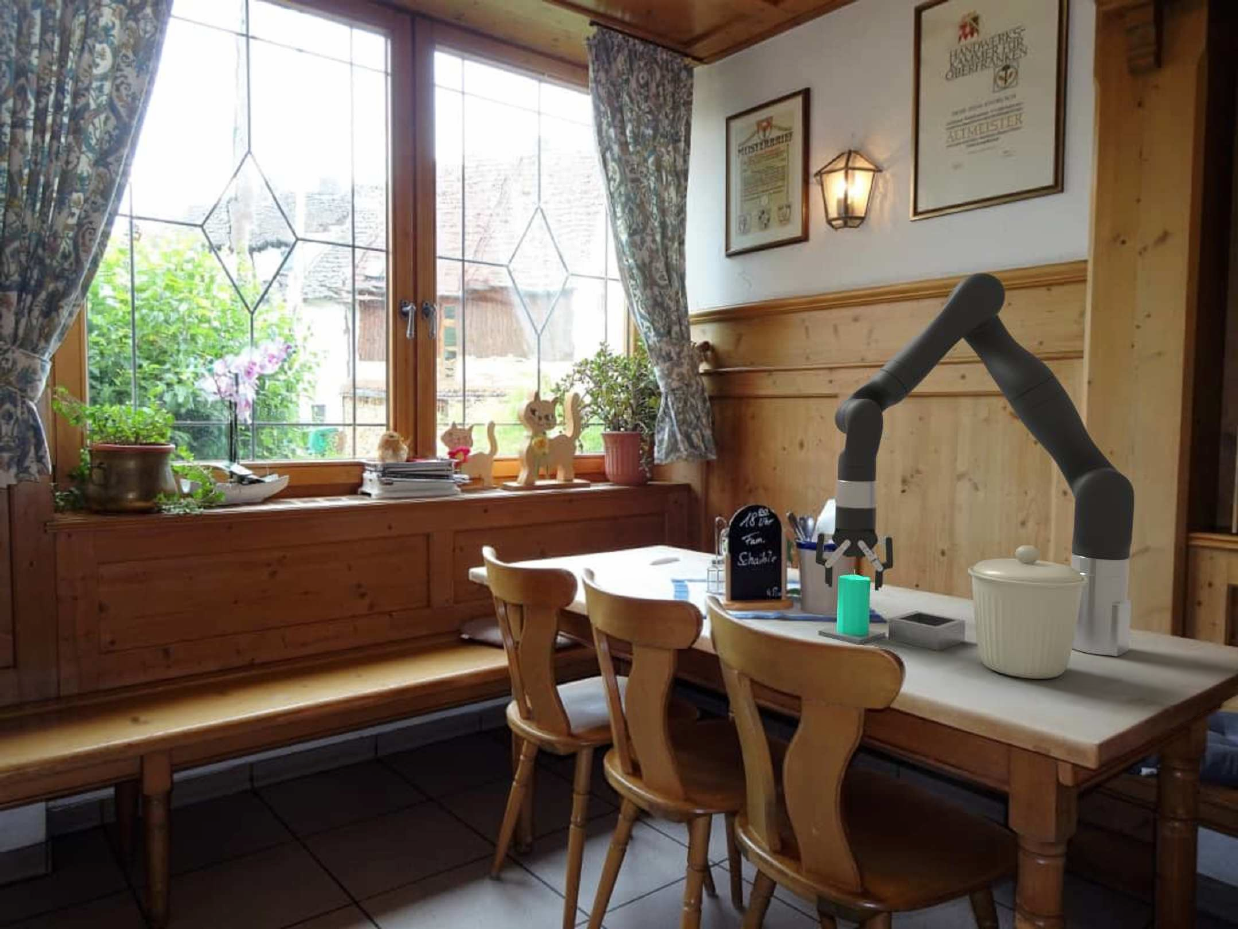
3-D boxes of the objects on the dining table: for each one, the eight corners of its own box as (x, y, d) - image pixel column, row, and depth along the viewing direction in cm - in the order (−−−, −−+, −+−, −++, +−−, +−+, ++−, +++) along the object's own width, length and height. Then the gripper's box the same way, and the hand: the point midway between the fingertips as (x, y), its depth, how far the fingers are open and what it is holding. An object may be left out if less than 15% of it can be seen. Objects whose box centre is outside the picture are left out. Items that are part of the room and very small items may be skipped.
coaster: (885, 636, 166) (885, 632, 166) (859, 644, 160) (859, 640, 160) (845, 627, 172) (845, 623, 172) (818, 634, 166) (818, 630, 166)
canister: (1078, 695, 132) (1084, 558, 131) (954, 674, 142) (959, 547, 141) (1087, 666, 148) (1093, 544, 146) (974, 649, 157) (979, 534, 156)
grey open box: (964, 641, 163) (965, 620, 162) (937, 650, 156) (938, 629, 156) (915, 630, 170) (916, 610, 170) (888, 639, 163) (888, 618, 163)
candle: (855, 637, 162) (856, 573, 161) (830, 630, 167) (831, 568, 166) (875, 632, 165) (877, 570, 164) (850, 626, 170) (852, 565, 169)
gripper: (895, 503, 166) (892, 587, 167) (819, 500, 170) (817, 582, 171) (894, 507, 159) (892, 595, 160) (815, 504, 163) (813, 589, 164)
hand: (853, 588), depth 165 cm, fingers open, 8 cm apart
